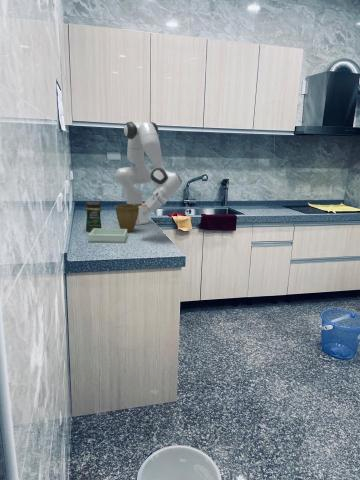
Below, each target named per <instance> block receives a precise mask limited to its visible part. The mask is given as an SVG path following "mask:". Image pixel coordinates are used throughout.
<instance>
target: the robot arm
mask: <svg viewBox="0 0 360 480" xmlns="http://www.w3.org/2000/svg"><path fill="white" fill-rule="evenodd" d="M123 127H124V128H123V134H124V137H125V138H126V139H127V149H126V150H127V151H126V152H127V154H126V156H127V157H126V158H127V160H128V161H129V162H131V163H132V164H134V165H135V167H133V166H131V167H128V166H127V167H120V168H118V169H117V170H116V172H115V179H116V181H117V182H118V183H119V184H121V185H122V187H123V188H124V190H125V194H126V196H125V198H126V203H125V205H135V206H141V205H142V204H143V203H145V204H146V206H147V207H148V208H147V209H146V210H145V211H144V212H143V215H146V214H147V213H150V212H152V213H155V212H157V210H159V209H160V208H162V206H163V205H166V203H167V201H168V200H169V199H170V197H171V196H172V195H174V194H175V193H176V192H177V191H178V190H179V189H180V187H181V186H182V183H183V182H182V179H181V178H180V176H179V174H178V173H176V172H171V171H169V170H166V167H165V164H164V160H163V155H162V151H161V150H162V149H161V142H160V139H159V138H160V137H159V127H158V125H157V124H156V123H155V122H152V121H150V122H149V121H143V120H141V121H128V122H126V123H125V124H124V125H123ZM145 154H146V156H147V157H148V158H149V160H150V161H151V163H152V165H153V168H154V169H153V170H152V169H150V168H149V167H148V166H147V164H146V162H145ZM151 182H152V183H153V184H154V186H155V187H156V188H155V190H154V191H152V195H151V196H150V197H148V199H146V200H145V201H144V202H143V192H142V190H141V189H139V188H136V187H135V185H136V184H139V185H140V184H149V183H151ZM144 224H145V225H147V224H149V222H147V223H140V222H139V211H138V217H137V221H136V224H135V226H137V225H144Z"/></svg>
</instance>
